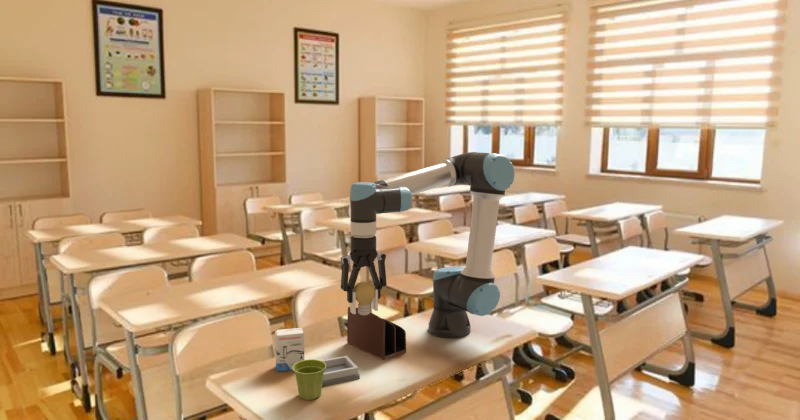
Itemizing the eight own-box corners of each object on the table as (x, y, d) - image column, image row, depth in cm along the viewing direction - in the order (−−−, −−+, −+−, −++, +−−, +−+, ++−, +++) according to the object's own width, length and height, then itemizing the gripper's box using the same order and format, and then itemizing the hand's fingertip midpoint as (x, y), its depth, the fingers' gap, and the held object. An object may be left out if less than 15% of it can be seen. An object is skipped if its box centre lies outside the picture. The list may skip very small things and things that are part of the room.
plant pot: (328, 387, 174) (327, 358, 172) (325, 402, 164) (324, 372, 163) (296, 388, 173) (294, 359, 172) (291, 403, 164) (290, 373, 163)
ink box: (277, 372, 184) (275, 335, 182) (275, 365, 189) (274, 329, 187) (305, 368, 186) (303, 332, 184) (303, 362, 191) (302, 327, 189)
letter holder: (383, 360, 192) (382, 318, 190) (346, 343, 207) (345, 304, 205) (406, 352, 199) (406, 311, 196) (369, 336, 213) (368, 297, 211)
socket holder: (346, 363, 190) (345, 354, 189) (359, 378, 179) (359, 368, 179) (305, 371, 184) (305, 361, 184) (317, 387, 174) (317, 377, 173)
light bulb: (372, 318, 176) (372, 285, 175) (351, 316, 177) (350, 284, 176) (377, 311, 182) (376, 279, 181) (356, 310, 184) (356, 278, 182)
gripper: (388, 230, 184) (388, 303, 187) (327, 235, 175) (329, 311, 179) (398, 234, 177) (398, 310, 181) (336, 240, 169) (337, 319, 172)
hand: (364, 311), depth 180 cm, fingers closed on light bulb, 6 cm apart
